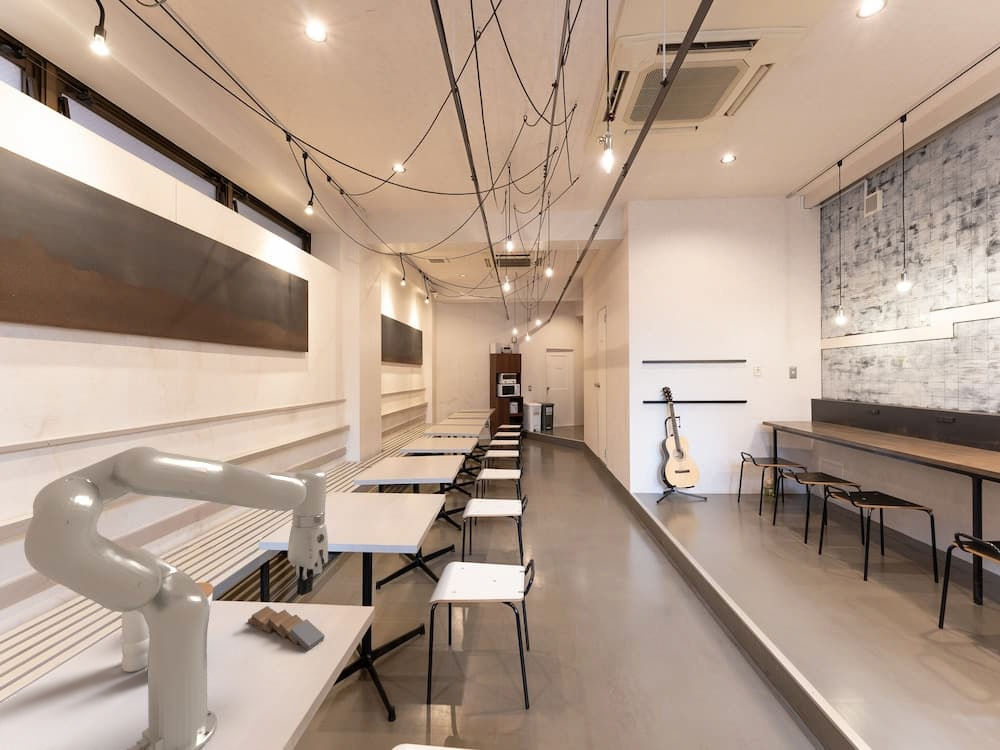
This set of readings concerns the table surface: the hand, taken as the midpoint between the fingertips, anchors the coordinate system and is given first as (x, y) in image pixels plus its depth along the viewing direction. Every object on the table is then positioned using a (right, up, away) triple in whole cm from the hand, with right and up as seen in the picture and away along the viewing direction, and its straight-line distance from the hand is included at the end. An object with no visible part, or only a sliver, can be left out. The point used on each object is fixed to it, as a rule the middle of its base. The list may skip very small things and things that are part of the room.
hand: (304, 592), depth 103 cm
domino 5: (-1, -19, +10) cm, 21 cm away
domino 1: (-19, -20, +19) cm, 33 cm away
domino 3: (-10, -19, +15) cm, 26 cm away
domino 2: (-16, -19, +17) cm, 30 cm away
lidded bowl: (-45, -20, +20) cm, 54 cm away
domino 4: (-6, -19, +12) cm, 23 cm away
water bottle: (-44, -20, +3) cm, 49 cm away
